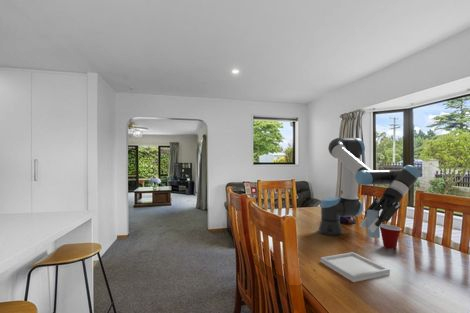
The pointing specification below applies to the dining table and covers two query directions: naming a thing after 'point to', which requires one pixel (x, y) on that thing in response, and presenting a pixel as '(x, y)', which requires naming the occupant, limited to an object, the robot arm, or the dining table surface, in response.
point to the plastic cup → (390, 235)
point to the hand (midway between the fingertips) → (366, 228)
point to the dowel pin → (370, 219)
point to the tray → (355, 266)
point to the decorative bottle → (346, 219)
